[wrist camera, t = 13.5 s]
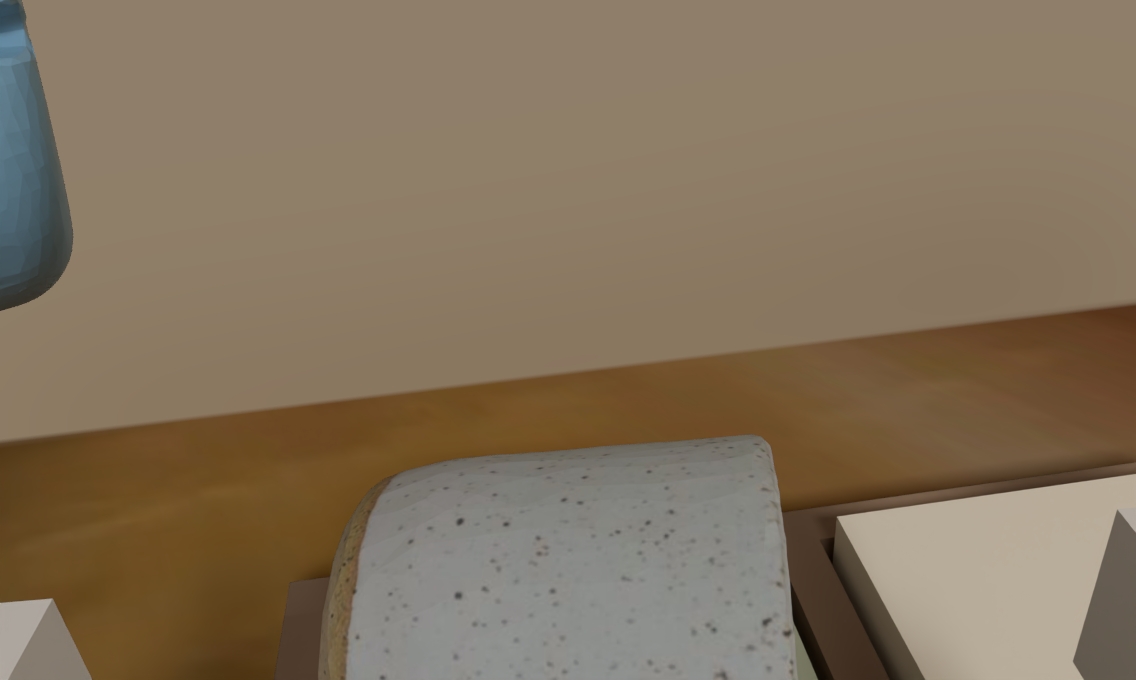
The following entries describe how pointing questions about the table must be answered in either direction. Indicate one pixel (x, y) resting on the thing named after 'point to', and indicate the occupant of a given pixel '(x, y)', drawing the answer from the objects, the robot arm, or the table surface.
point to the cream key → (980, 579)
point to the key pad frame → (816, 591)
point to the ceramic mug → (568, 569)
